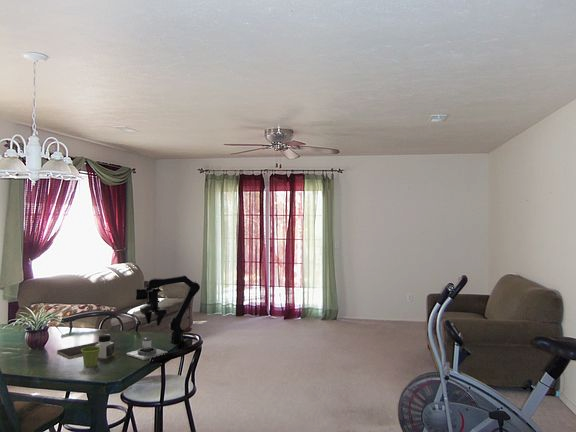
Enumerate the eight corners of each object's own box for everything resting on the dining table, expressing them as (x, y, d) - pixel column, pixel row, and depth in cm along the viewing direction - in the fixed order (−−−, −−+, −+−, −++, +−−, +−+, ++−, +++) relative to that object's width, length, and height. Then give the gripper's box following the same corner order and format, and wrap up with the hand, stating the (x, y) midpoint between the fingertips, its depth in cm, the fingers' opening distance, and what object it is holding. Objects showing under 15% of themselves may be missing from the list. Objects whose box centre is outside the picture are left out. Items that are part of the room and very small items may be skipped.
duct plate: (150, 348, 266) (150, 344, 266) (167, 353, 256) (167, 349, 256) (126, 354, 253) (126, 350, 253) (143, 360, 243) (143, 355, 243)
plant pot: (97, 361, 241) (97, 345, 241) (102, 366, 233) (102, 349, 233) (78, 365, 235) (78, 348, 235) (83, 369, 228) (83, 352, 228)
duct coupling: (140, 352, 254) (140, 338, 254) (148, 350, 258) (148, 336, 258) (145, 354, 251) (145, 339, 251) (153, 352, 255) (153, 337, 255)
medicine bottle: (106, 358, 246) (106, 336, 246) (94, 358, 247) (95, 336, 247) (114, 355, 253) (114, 333, 253) (102, 354, 254) (102, 333, 254)
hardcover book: (109, 350, 263) (109, 346, 263) (69, 359, 246) (69, 355, 246) (96, 345, 274) (96, 341, 274) (57, 353, 256) (57, 349, 257)
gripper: (132, 299, 274) (132, 325, 274) (152, 302, 263) (152, 329, 263) (148, 296, 283) (148, 321, 283) (167, 300, 272) (167, 325, 272)
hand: (153, 324), depth 275 cm, fingers open, 9 cm apart
